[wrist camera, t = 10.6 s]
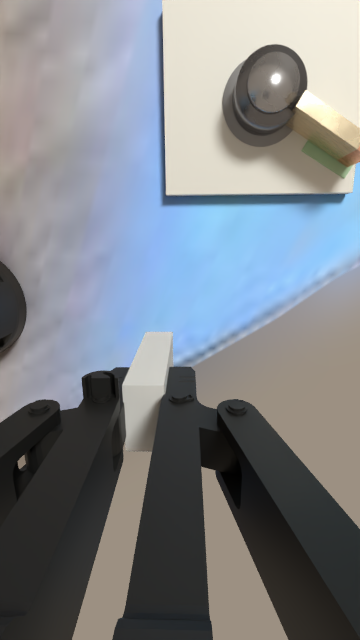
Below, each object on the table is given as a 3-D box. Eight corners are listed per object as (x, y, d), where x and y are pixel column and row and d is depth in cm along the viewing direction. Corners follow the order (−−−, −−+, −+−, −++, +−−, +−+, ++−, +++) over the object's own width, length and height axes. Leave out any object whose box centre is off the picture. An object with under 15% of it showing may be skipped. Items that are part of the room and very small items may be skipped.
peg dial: (220, 113, 34) (224, 95, 30) (255, 48, 33) (265, 19, 28) (332, 189, 36) (352, 182, 32) (371, 130, 34) (397, 115, 30)
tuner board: (166, 196, 38) (165, 194, 37) (163, 8, 33) (162, -2, 32) (354, 193, 38) (360, 192, 36) (377, 2, 33) (386, -9, 32)
